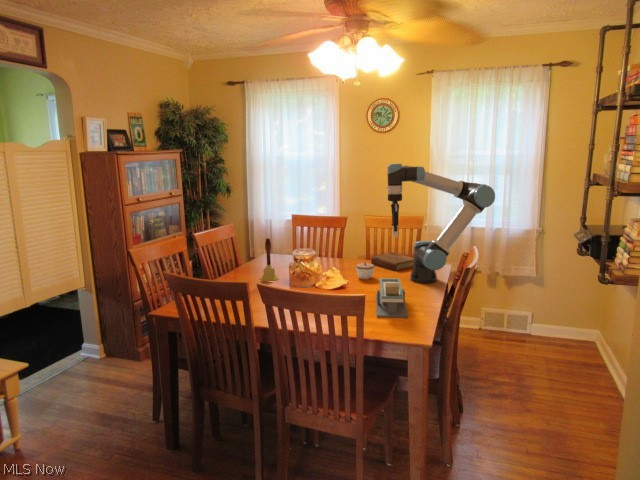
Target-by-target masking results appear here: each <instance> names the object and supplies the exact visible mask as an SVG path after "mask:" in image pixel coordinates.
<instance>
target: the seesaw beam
mask: <svg viewBox="0 0 640 480" xmlns="http://www.w3.org/2000/svg"><path fill="white" fill-rule="evenodd" d="M385 283H398V284H399V296H386V295H385ZM379 288H380V294H381V302H403V299H404V296H403V292H402V290H403V289H402V283H401V279H400V278H390V277H389V278H384V277H383V278H381V277H380V278H379Z"/></svg>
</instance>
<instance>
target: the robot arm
mask: <svg viewBox="0 0 640 480" xmlns="http://www.w3.org/2000/svg"><path fill="white" fill-rule="evenodd" d="M386 172H387V187H386V190H387V193H388V194H387V200H388V202H391V204H390V207H391V226H392V238H399V213H400V212H399V211H400V203H398V202H401V201H402V200H403V183H404V182H413V183H416V184H419V185H422V186H425V187H429V188H431V189H434V190H438V191H441V192H444V193H448V194H450V195H453V197H454V198H458V199H460V200H462V203H463V204H462V206H461V207H460V208H459V210H458V211H457V212H456V214H455V215H454V216H453V217H452V219H451V220H450V221H449V222H448V224H447V225H446V226H445V227H444V229H443V230H442V232H441V233H440V234H439V236H438V237H437V238H436V239H434V240H418V241H415V242H414V244H413V258H414V267H412V270H411V273H410V277H409V280H410V281H411V282H414V283H419V284H432V283H435V282H437V281H438V276H437V272H436V271H438V270H441V269H443V267H445V265H446V263H447V257H449V255H450V249H451V247H453V245H454V243H455V242H456V241H457V239H458V238H460V237H461V235H462V233H463V232H464V231H465V230H466V229H467V226H469V224H470V223H471V222H472V221H473V219H474V218H475V217H476V215H478V214H481V213H482V212H483V211H484V210H485V208H488V207H491V206H492V205H493V203H494V202H495V200H496V192H495V190H494V189H493V188H492V187H491V186H490V185H488V184H484V183H476V182H468V181H464V180H459V181H458V180H454V179H451V178H448V177H444V176H441V175H438V174H435V173H431V172H429V171H426V170H425V168H424V167H423V166H419V165H417V166H409V165H403V164H402V163H390V164H387V171H386Z"/></svg>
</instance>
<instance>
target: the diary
mask: <svg viewBox="0 0 640 480" xmlns="http://www.w3.org/2000/svg"><path fill="white" fill-rule="evenodd" d="M370 260H371V261H370V264H373V265H374V266H377V267H380V268H384V269H387V270H390V271H394V272H398V271H403V270H408V269H413V267H414V257H411V256H407V255H403V254H398V253H395V252H389V253H384V254H380V255H379V254H378V255H373V256H371V258H370Z"/></svg>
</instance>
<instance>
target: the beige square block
mask: <svg viewBox="0 0 640 480" xmlns="http://www.w3.org/2000/svg"><path fill="white" fill-rule="evenodd" d="M385 295H386V296H399V284H398V283H385Z"/></svg>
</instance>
